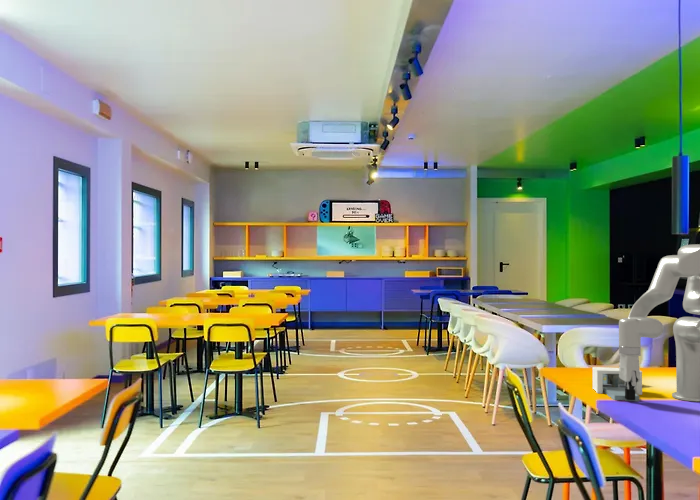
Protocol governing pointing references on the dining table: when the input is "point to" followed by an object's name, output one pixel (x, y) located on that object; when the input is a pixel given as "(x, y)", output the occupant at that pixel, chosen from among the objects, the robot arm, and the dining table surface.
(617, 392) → the panel
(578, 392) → the dining table surface
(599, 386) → the shelf
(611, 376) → the beverage carton
